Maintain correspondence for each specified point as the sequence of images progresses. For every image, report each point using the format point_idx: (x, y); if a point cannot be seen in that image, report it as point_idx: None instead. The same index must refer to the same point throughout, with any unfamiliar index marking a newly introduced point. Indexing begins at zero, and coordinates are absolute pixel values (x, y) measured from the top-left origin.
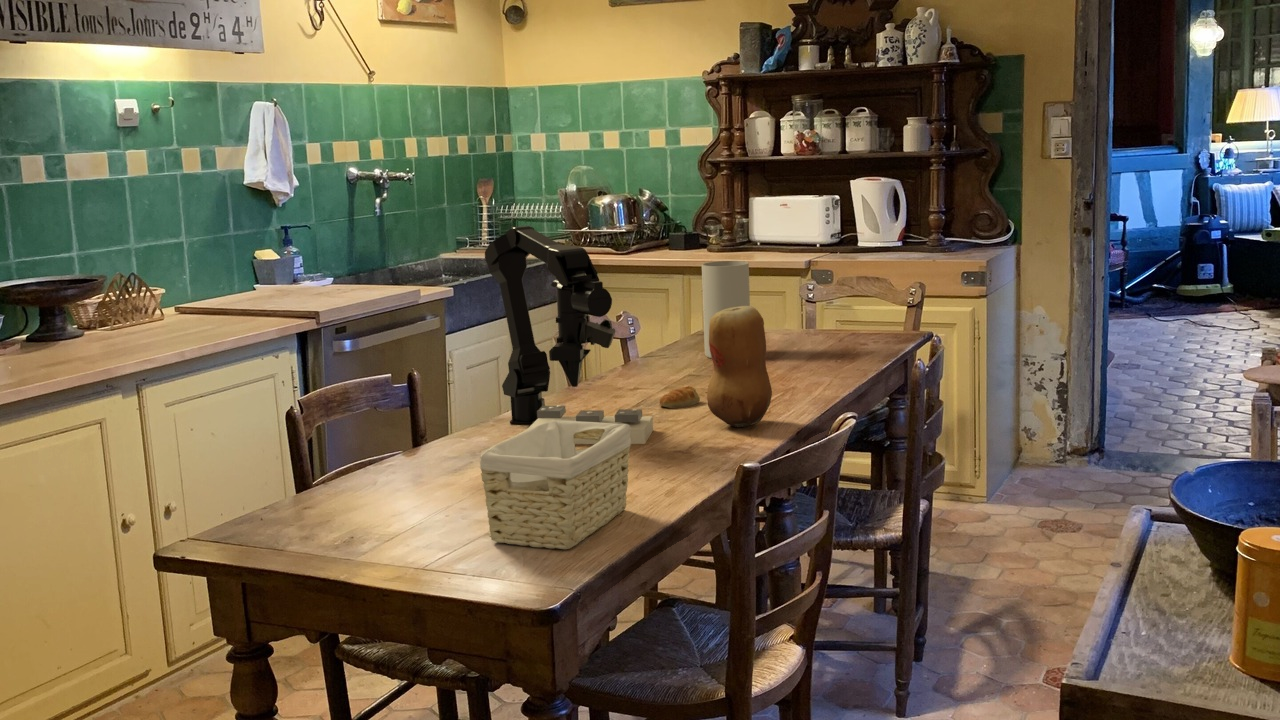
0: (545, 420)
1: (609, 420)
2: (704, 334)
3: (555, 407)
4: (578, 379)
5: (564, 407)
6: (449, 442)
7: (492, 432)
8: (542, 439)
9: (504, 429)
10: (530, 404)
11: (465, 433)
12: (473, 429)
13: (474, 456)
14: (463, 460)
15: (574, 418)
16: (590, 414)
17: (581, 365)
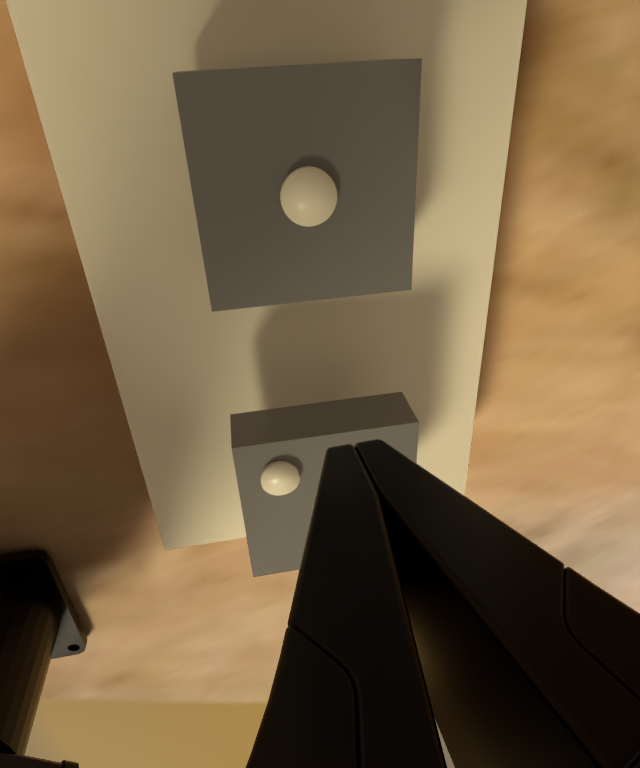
0: None
1: (188, 2)
2: None
3: (301, 489)
4: (387, 488)
5: (265, 438)
6: None
7: (236, 637)
8: None
9: (178, 623)
10: (6, 673)
11: (264, 696)
12: (200, 701)
13: (589, 552)
14: (632, 560)
15: (170, 346)
16: (357, 173)
17: (324, 706)
